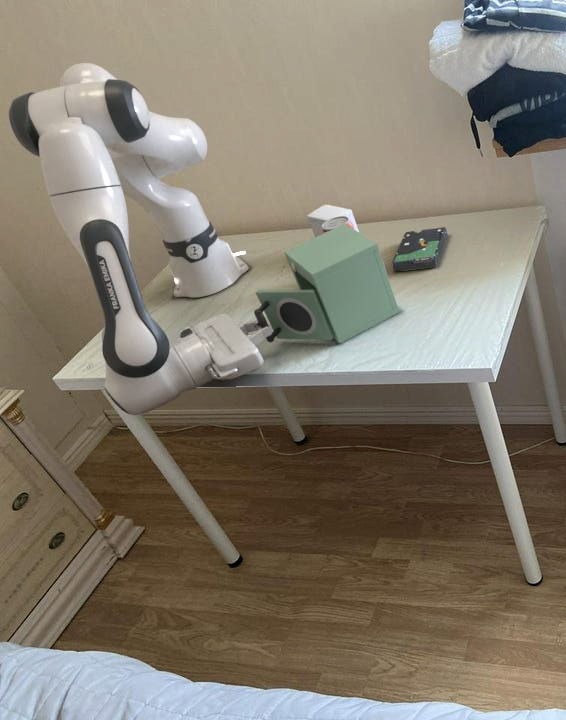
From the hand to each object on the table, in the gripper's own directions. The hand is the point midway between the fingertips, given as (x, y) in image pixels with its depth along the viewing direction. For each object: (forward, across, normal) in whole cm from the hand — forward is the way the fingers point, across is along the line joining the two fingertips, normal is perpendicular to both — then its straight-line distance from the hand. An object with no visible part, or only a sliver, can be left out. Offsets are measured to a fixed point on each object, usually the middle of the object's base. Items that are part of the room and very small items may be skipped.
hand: (266, 325), depth 136 cm
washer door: (+4, -3, +6) cm, 7 cm away
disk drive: (+41, +10, +7) cm, 42 cm away
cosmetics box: (+29, +31, +7) cm, 43 cm away
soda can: (+26, +17, +7) cm, 32 cm away
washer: (+17, 0, +7) cm, 19 cm away
